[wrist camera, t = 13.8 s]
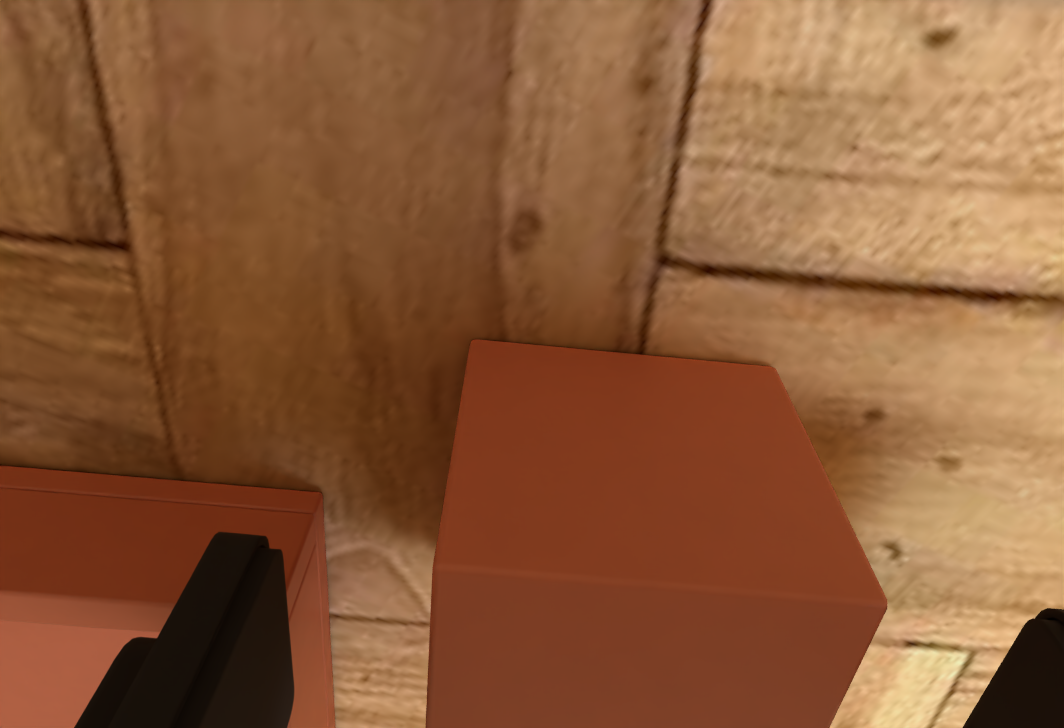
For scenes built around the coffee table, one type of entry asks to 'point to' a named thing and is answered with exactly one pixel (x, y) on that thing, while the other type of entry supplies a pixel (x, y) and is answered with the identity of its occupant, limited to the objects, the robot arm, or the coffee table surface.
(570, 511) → the terracotta block
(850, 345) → the coffee table surface
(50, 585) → the dish
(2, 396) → the coffee table surface
